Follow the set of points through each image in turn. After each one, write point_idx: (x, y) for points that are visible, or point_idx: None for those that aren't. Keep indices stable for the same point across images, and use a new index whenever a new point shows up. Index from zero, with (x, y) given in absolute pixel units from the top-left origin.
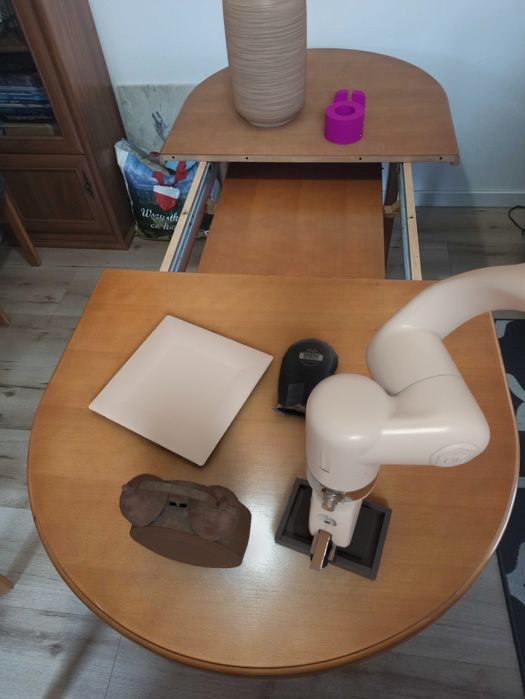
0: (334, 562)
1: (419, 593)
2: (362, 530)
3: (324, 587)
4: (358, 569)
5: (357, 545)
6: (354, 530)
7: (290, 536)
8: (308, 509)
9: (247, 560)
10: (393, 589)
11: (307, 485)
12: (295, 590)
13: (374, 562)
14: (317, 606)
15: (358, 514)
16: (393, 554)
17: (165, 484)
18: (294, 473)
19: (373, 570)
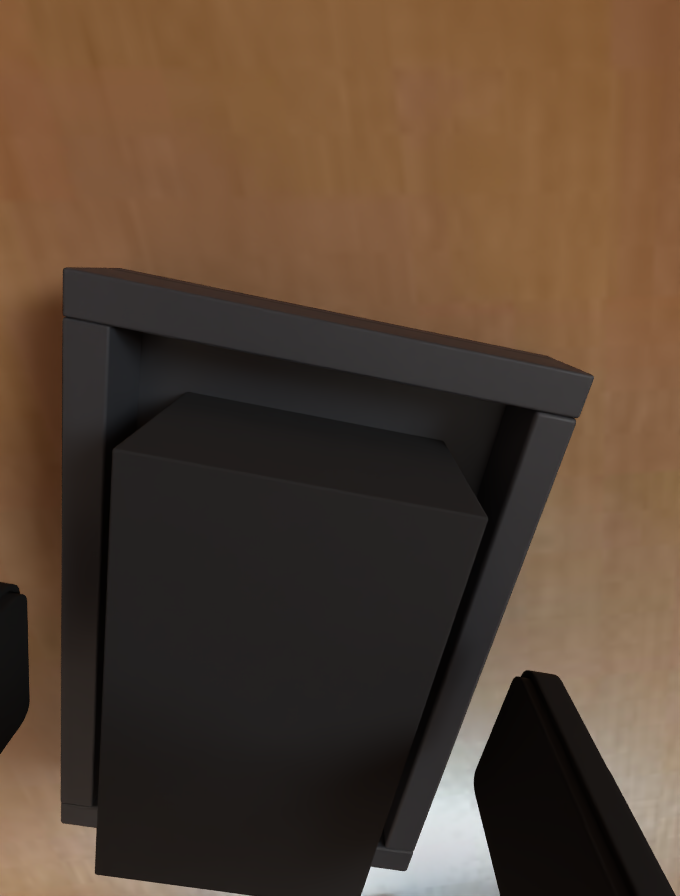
0: (561, 688)
1: (623, 37)
2: (313, 543)
3: (582, 598)
4: (547, 494)
5: (442, 573)
6: (326, 601)
7: None
8: (239, 854)
9: (479, 861)
10: (594, 235)
11: (90, 778)
12: (594, 705)
13: (495, 393)
14: (667, 619)
15: (187, 581)
16: (377, 240)
17: None
18: (57, 760)
19: (552, 398)
